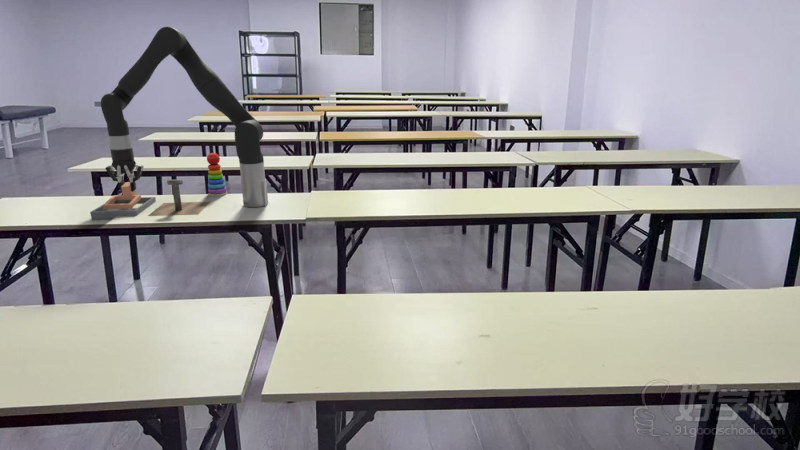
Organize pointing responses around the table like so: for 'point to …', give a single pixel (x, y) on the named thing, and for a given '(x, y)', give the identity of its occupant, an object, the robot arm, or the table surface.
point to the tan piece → (123, 198)
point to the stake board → (185, 207)
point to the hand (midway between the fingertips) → (128, 191)
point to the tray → (112, 213)
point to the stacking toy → (215, 176)
